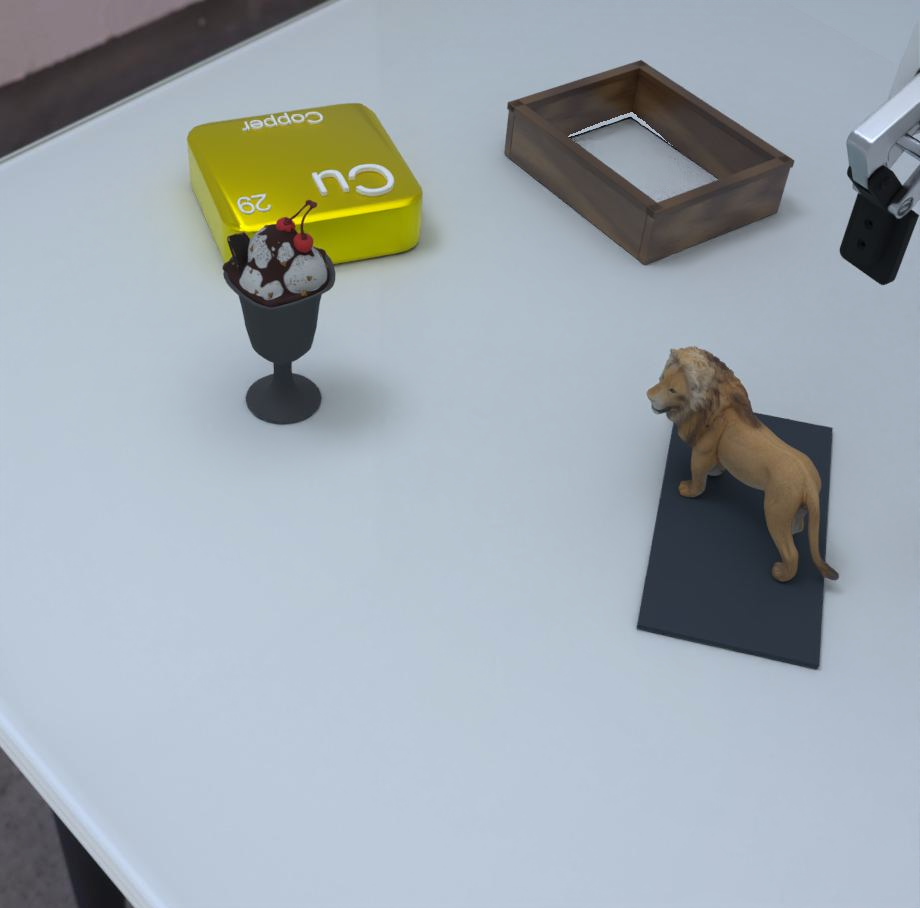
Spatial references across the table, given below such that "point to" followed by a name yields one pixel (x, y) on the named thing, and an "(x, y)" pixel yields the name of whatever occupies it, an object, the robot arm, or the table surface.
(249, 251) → the sundae
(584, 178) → the wooden box
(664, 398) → the lion figurine
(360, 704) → the table surface
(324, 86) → the table surface
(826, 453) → the mat
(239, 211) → the element tile
